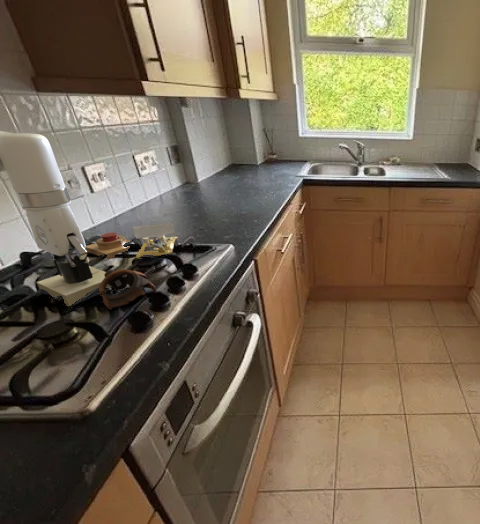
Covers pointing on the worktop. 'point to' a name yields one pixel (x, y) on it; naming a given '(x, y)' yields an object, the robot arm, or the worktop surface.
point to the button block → (108, 247)
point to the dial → (65, 269)
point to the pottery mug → (123, 286)
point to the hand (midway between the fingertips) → (76, 276)
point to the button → (109, 237)
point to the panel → (72, 286)
